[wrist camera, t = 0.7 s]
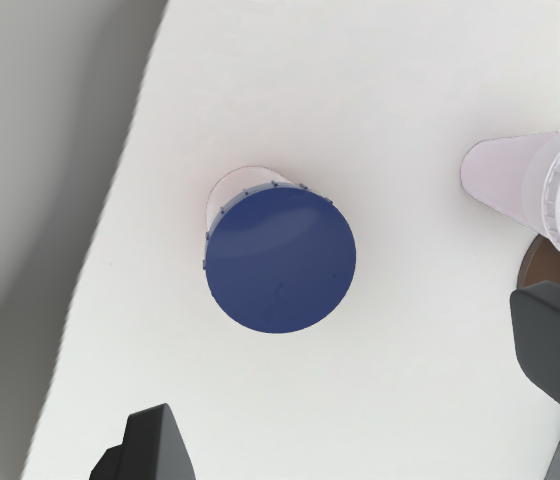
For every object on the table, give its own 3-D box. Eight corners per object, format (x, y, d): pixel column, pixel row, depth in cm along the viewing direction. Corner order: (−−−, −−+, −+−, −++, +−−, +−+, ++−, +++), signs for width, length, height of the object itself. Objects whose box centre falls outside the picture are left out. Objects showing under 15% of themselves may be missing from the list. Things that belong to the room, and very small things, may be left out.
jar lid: (249, 153, 18) (253, 156, 17) (371, 224, 20) (384, 232, 18) (177, 282, 19) (176, 295, 18) (300, 340, 21) (308, 357, 19)
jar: (235, 148, 26) (255, 164, 17) (316, 195, 28) (372, 232, 19) (188, 232, 27) (185, 289, 18) (270, 273, 28) (303, 344, 20)
